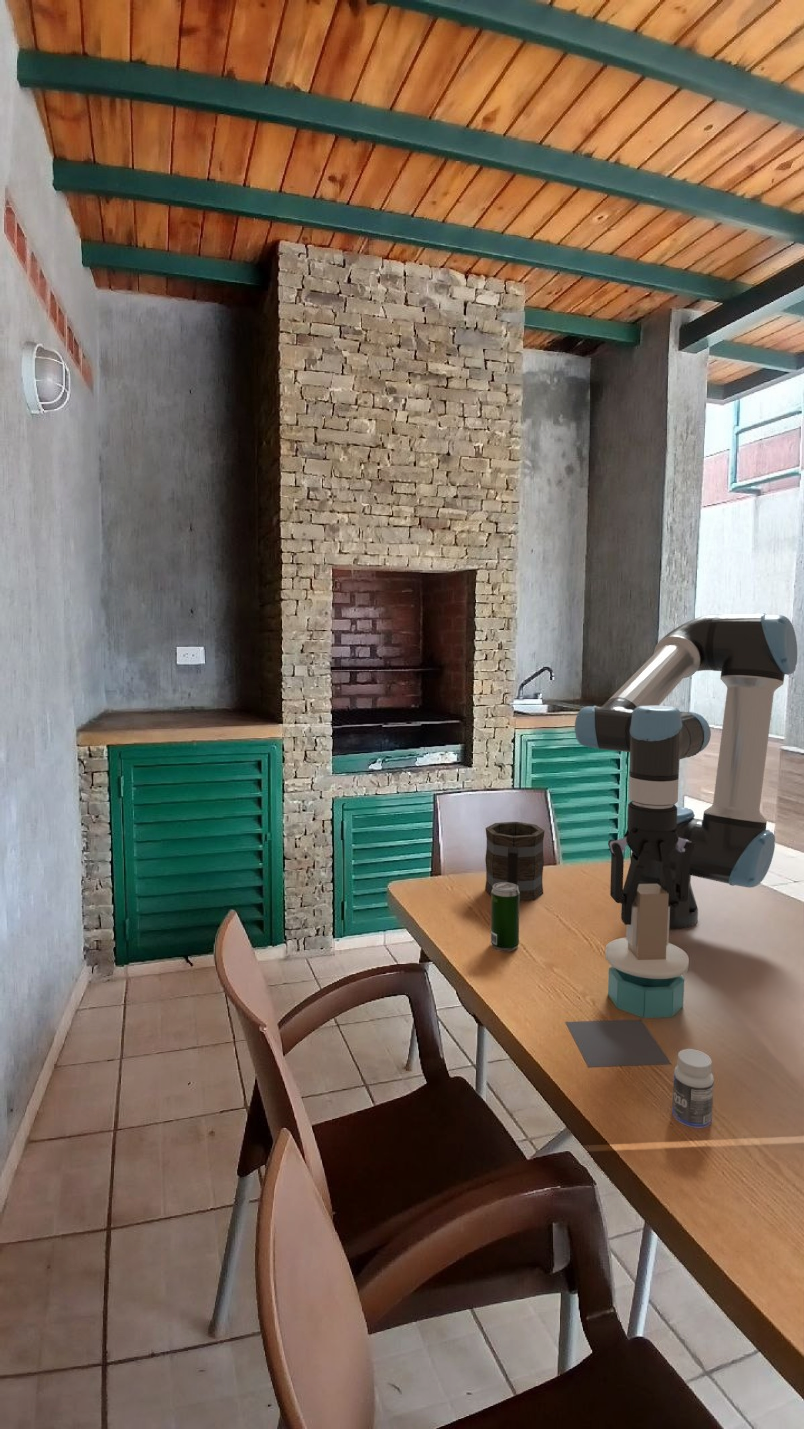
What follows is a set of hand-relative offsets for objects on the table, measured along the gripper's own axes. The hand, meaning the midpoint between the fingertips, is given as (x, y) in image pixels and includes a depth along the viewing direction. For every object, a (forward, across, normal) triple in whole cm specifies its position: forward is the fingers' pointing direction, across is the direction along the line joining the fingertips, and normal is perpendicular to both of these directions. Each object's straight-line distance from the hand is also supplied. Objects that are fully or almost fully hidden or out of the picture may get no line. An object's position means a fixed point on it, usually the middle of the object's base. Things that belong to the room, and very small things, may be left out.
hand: (646, 941), depth 124 cm
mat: (+11, +9, +12) cm, 18 cm away
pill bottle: (+11, +5, +29) cm, 31 cm away
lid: (+3, 0, 0) cm, 3 cm away
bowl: (+11, 0, 0) cm, 11 cm away
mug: (+11, +12, -49) cm, 52 cm away
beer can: (+11, +19, -23) cm, 32 cm away
